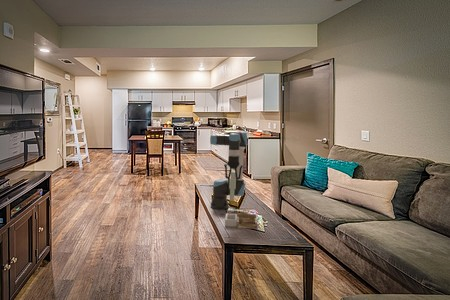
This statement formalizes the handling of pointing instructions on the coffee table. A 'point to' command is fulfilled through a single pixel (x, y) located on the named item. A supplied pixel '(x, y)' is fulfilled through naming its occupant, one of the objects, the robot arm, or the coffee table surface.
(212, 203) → the robot arm
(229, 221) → the bin
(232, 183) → the grey-green flat block
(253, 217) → the rack
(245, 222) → the offcut walnut
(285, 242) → the coffee table surface
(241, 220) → the offcut oak
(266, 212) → the coffee table surface
